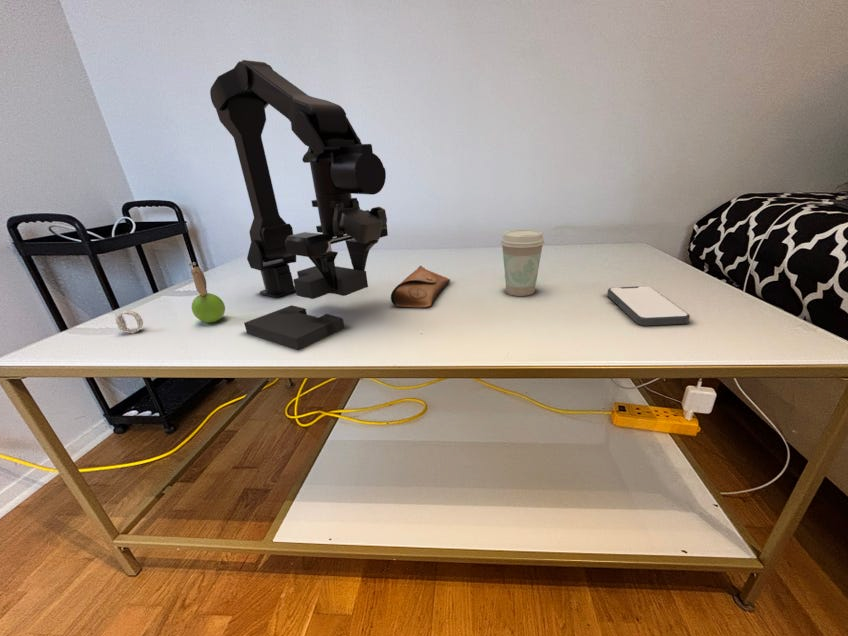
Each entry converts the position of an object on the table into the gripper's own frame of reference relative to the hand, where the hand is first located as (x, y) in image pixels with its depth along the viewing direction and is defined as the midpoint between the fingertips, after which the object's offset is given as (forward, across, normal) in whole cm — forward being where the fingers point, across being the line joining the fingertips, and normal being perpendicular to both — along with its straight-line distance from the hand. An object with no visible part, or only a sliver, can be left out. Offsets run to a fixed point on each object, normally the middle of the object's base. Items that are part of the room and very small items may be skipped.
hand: (347, 284), depth 75 cm
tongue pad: (+1, -2, +4) cm, 5 cm away
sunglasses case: (+6, +17, -4) cm, 19 cm away
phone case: (+6, +28, -46) cm, 54 cm away
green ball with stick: (+6, -15, +22) cm, 27 cm away
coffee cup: (+6, +27, -22) cm, 35 cm away
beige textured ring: (+6, -25, +31) cm, 40 cm away
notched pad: (+6, -9, +4) cm, 12 cm away
